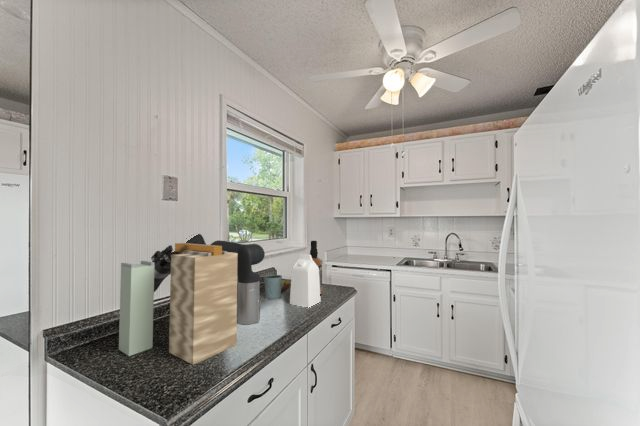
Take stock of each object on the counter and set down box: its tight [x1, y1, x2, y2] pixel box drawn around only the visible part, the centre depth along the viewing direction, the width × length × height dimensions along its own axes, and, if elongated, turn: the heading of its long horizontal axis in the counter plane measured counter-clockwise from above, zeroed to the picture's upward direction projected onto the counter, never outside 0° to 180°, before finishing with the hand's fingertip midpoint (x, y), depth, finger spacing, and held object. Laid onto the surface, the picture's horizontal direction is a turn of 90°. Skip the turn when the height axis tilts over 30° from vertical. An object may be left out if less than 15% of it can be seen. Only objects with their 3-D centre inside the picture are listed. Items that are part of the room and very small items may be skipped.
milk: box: [289, 253, 322, 309], centre depth 144 cm, size 12×12×26 cm
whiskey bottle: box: [309, 240, 324, 294], centre depth 163 cm, size 10×10×32 cm
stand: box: [168, 251, 238, 365], centre depth 92 cm, size 14×16×33 cm
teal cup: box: [263, 274, 283, 300], centre depth 155 cm, size 10×10×12 cm
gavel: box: [281, 279, 291, 293], centre depth 173 cm, size 21×5×10 cm
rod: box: [174, 242, 222, 256], centre depth 96 cm, size 24×3×3 cm, turn 56°
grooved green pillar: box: [118, 260, 155, 357], centre depth 92 cm, size 8×7×29 cm
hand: (182, 246), depth 100 cm, fingers open, 8 cm apart
